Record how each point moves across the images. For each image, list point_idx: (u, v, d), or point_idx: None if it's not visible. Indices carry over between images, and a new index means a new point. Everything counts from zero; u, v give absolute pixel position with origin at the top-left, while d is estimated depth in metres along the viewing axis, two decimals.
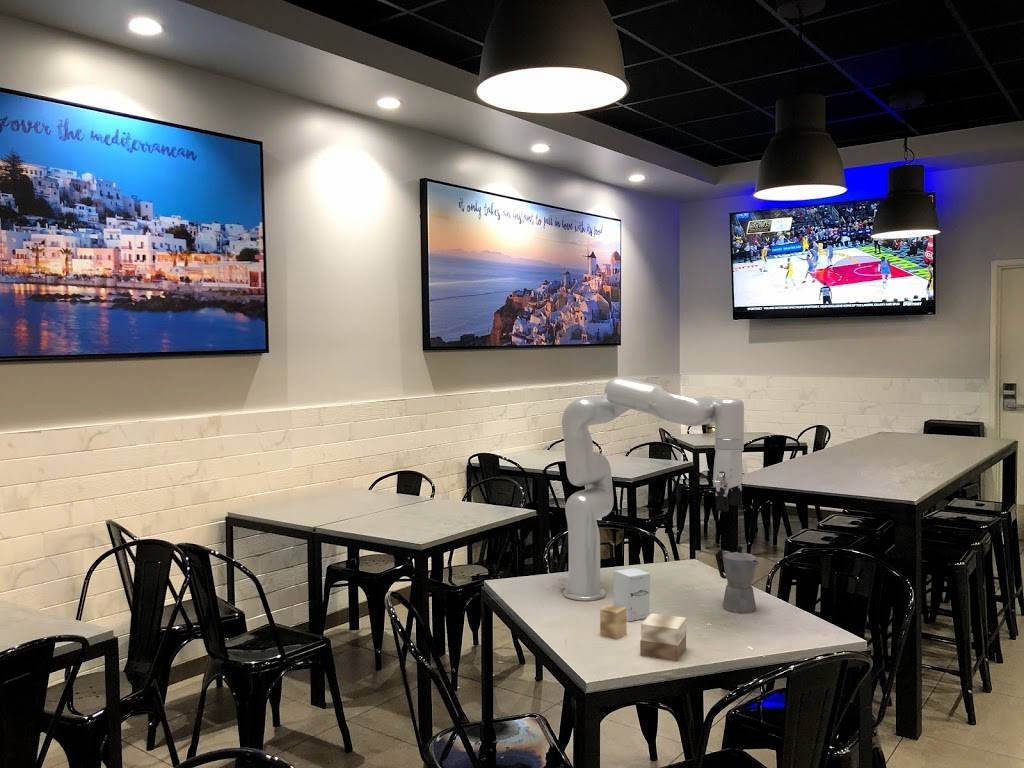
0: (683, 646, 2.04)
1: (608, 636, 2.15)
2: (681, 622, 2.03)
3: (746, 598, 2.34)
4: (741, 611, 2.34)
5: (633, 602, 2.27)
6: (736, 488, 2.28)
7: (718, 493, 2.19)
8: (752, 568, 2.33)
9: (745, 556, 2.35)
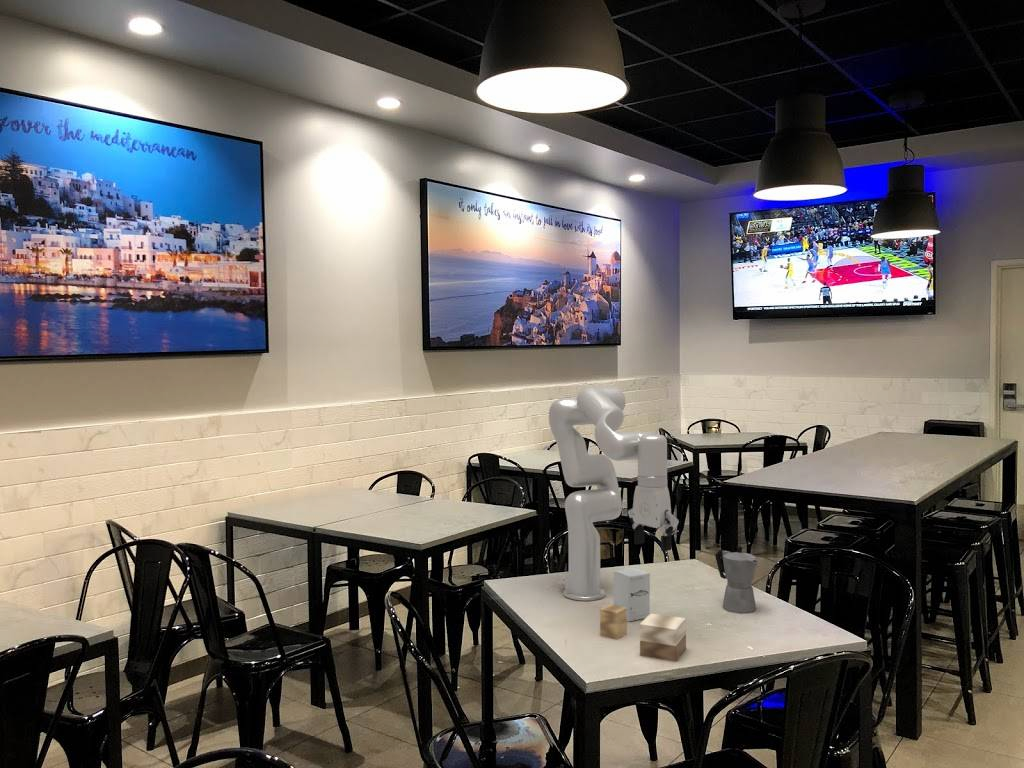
0: (683, 646, 2.04)
1: (608, 636, 2.15)
2: (680, 622, 2.03)
3: (746, 598, 2.34)
4: (741, 611, 2.34)
5: (633, 602, 2.27)
6: (640, 526, 2.23)
7: (670, 532, 2.13)
8: (752, 568, 2.33)
9: (745, 556, 2.35)
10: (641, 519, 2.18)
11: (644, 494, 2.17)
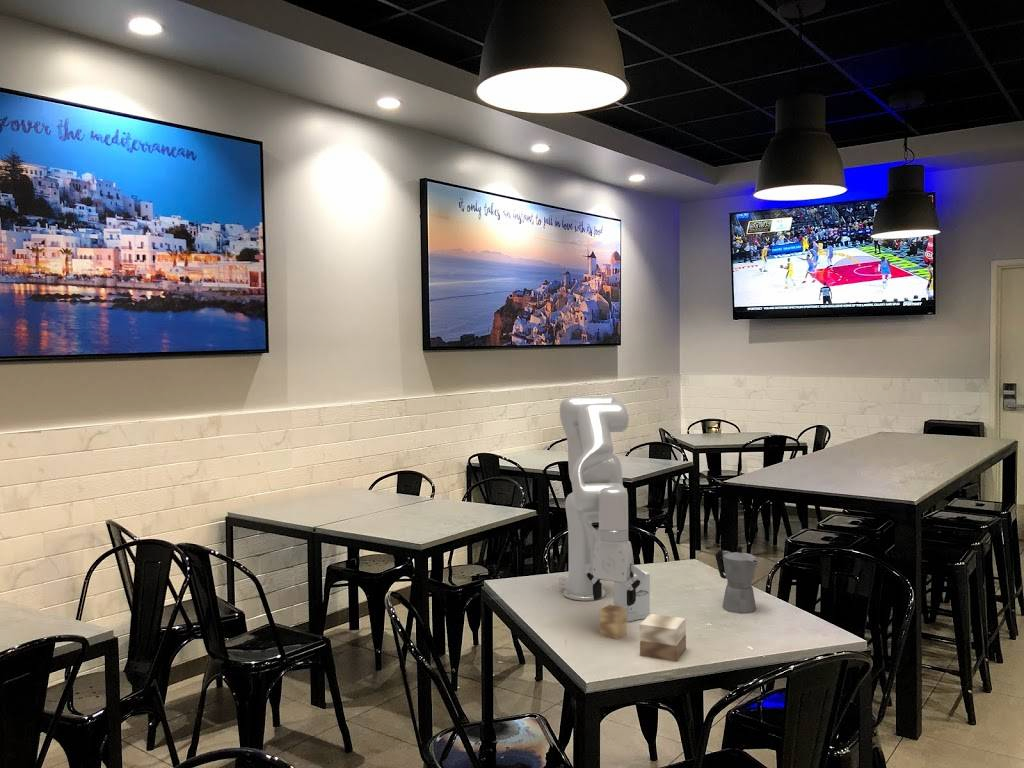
0: (683, 647, 2.04)
1: (608, 636, 2.15)
2: (680, 623, 2.03)
3: (746, 598, 2.34)
4: (741, 611, 2.34)
5: None
6: (598, 580, 2.19)
7: (636, 586, 2.12)
8: (752, 568, 2.33)
9: (745, 556, 2.35)
10: (604, 574, 2.14)
11: (608, 549, 2.13)
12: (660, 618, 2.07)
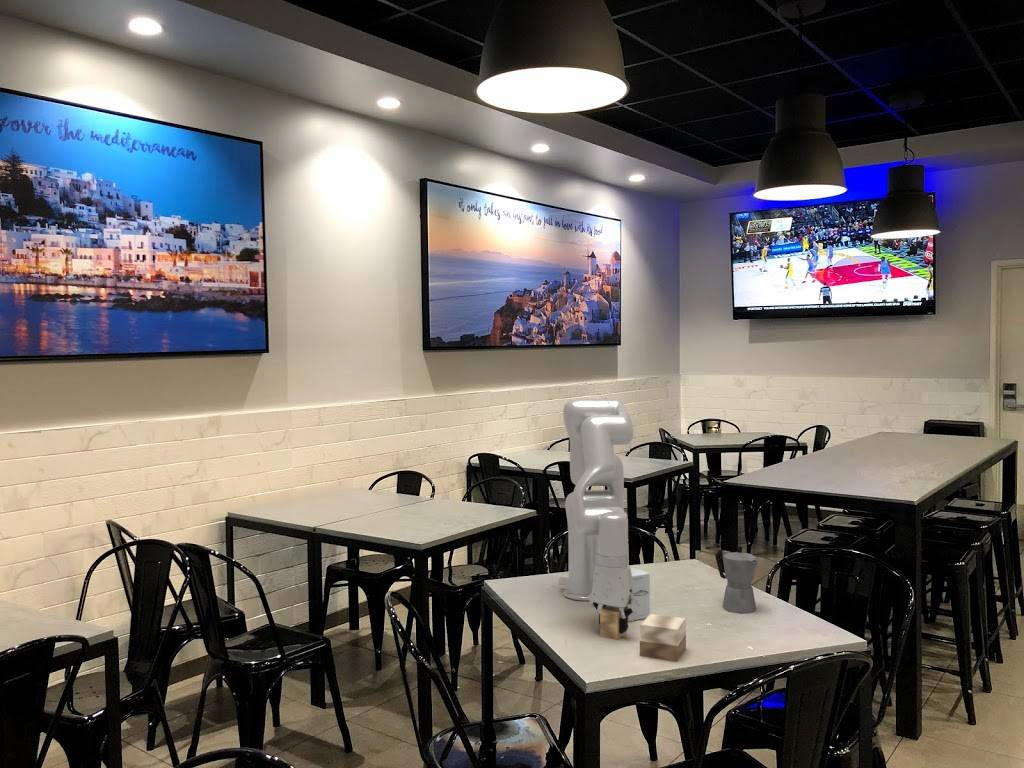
0: (683, 647, 2.04)
1: (608, 636, 2.15)
2: (680, 623, 2.03)
3: (746, 598, 2.34)
4: (741, 611, 2.34)
5: None
6: None
7: (628, 614, 2.14)
8: (752, 568, 2.33)
9: (745, 556, 2.35)
10: (603, 599, 2.15)
11: (608, 574, 2.14)
12: (660, 618, 2.06)
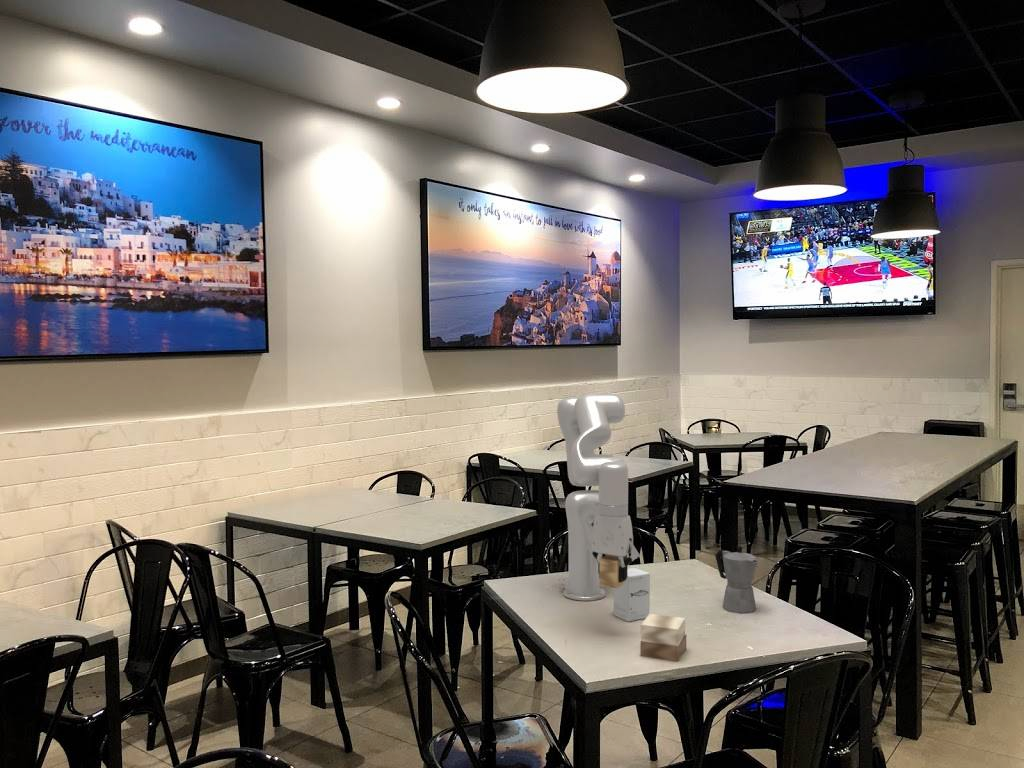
0: (683, 647, 2.04)
1: (607, 585, 2.15)
2: (680, 622, 2.03)
3: (746, 598, 2.34)
4: (741, 611, 2.34)
5: (633, 602, 2.27)
6: None
7: (628, 563, 2.14)
8: (752, 568, 2.33)
9: (745, 556, 2.35)
10: (603, 548, 2.15)
11: (607, 523, 2.14)
12: (660, 618, 2.06)
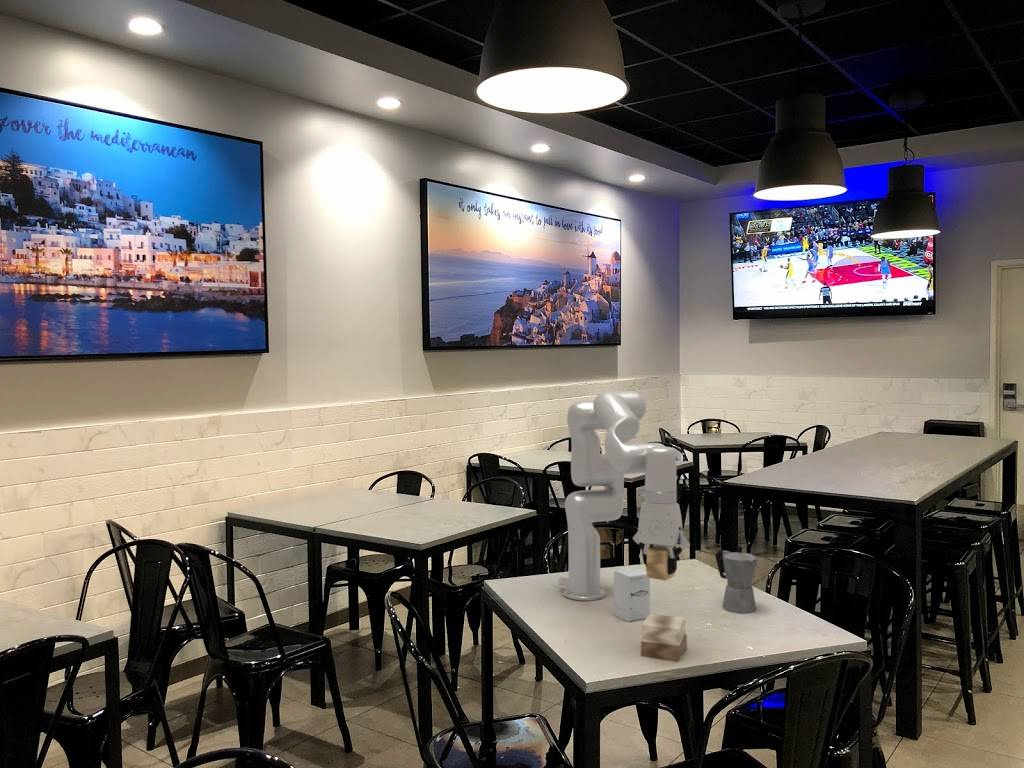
0: (684, 646, 2.04)
1: (655, 577, 2.02)
2: (681, 622, 2.03)
3: (746, 598, 2.34)
4: (741, 611, 2.34)
5: (633, 602, 2.27)
6: None
7: (678, 554, 2.01)
8: (752, 568, 2.33)
9: (745, 556, 2.35)
10: (651, 538, 2.02)
11: (655, 511, 2.01)
12: (660, 618, 2.06)
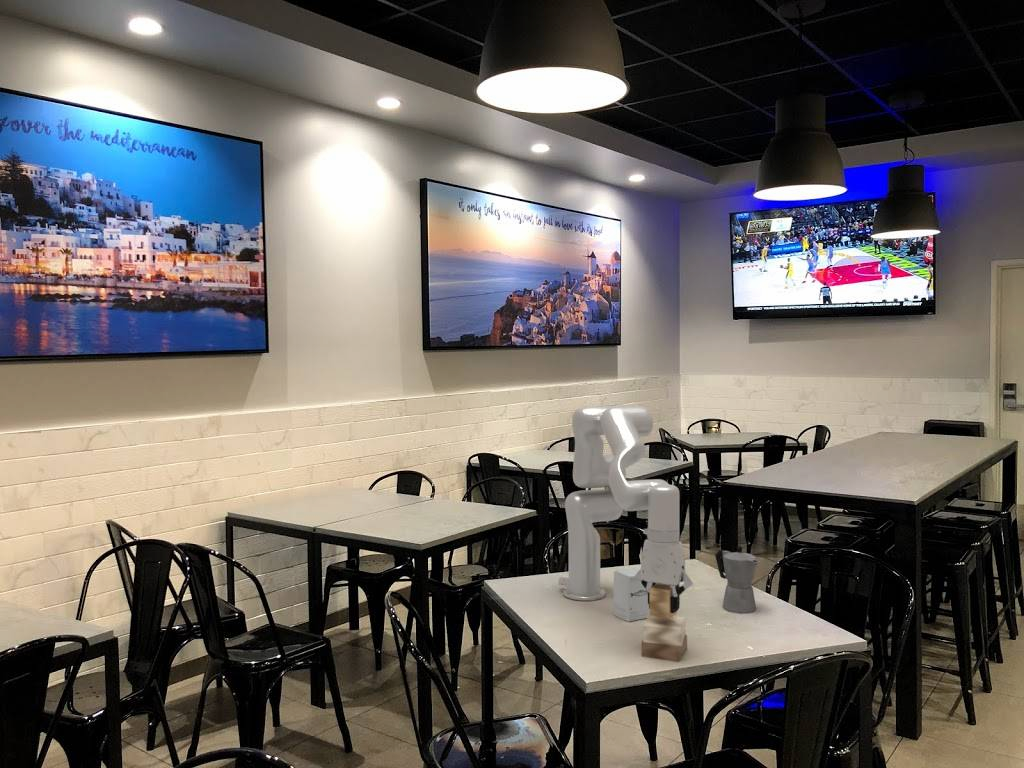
0: (684, 647, 2.04)
1: (658, 616, 2.02)
2: (682, 622, 2.03)
3: (746, 598, 2.34)
4: (741, 611, 2.34)
5: (633, 602, 2.27)
6: None
7: (680, 593, 2.01)
8: (752, 568, 2.33)
9: (745, 556, 2.35)
10: (653, 577, 2.02)
11: (658, 550, 2.01)
12: (661, 618, 2.06)
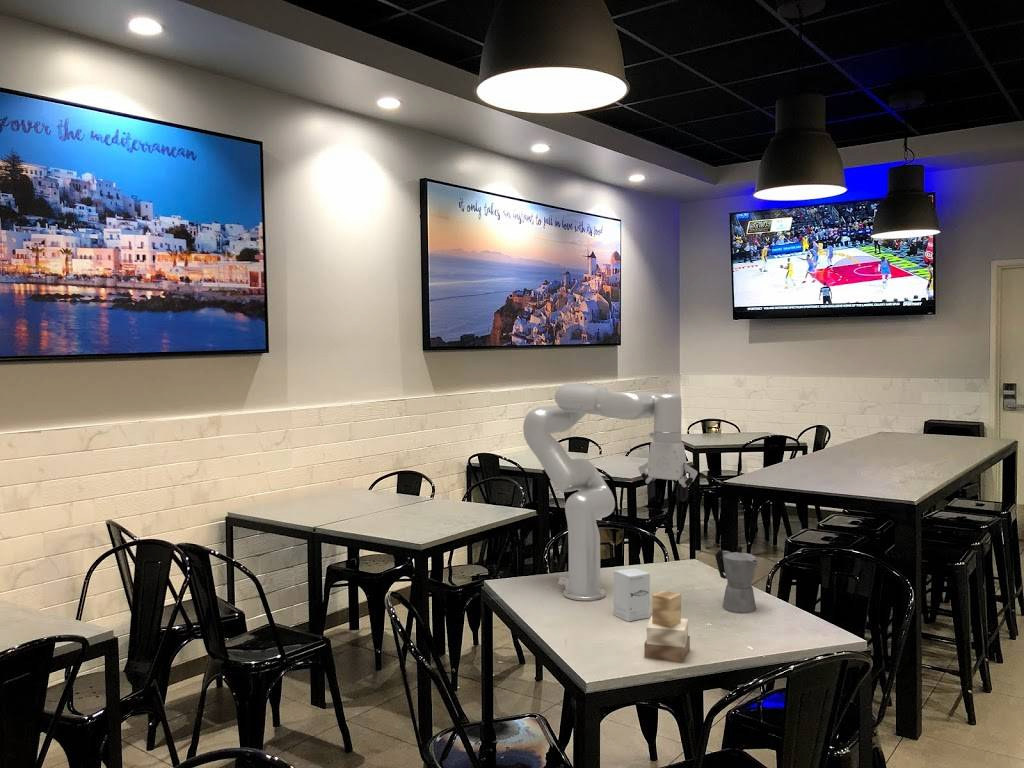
0: (687, 648, 2.03)
1: (661, 624, 2.01)
2: (685, 623, 2.02)
3: (746, 598, 2.34)
4: (741, 611, 2.34)
5: (633, 602, 2.27)
6: (652, 480, 2.36)
7: (689, 483, 2.28)
8: (752, 568, 2.33)
9: (745, 556, 2.35)
10: (659, 473, 2.31)
11: (663, 449, 2.30)
12: None
